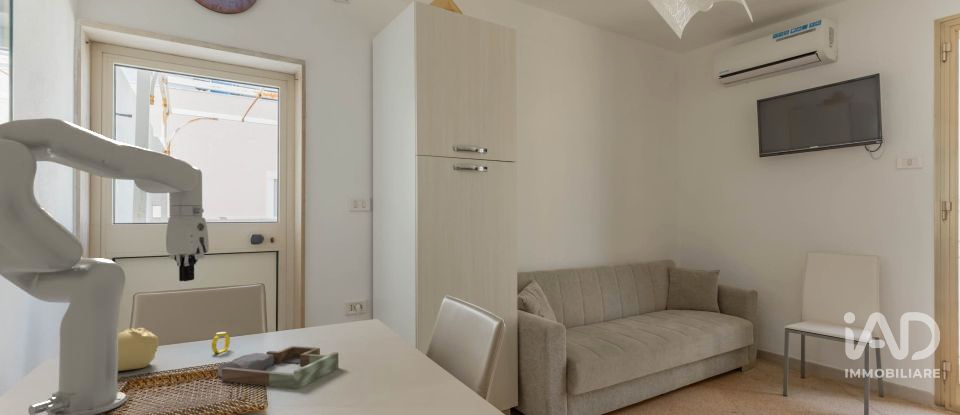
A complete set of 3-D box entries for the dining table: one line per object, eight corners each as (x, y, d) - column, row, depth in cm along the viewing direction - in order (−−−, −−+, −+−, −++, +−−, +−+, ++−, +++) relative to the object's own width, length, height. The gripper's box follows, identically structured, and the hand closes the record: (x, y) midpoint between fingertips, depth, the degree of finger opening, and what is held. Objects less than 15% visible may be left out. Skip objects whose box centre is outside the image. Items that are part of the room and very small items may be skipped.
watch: (223, 350, 142) (224, 330, 143) (231, 350, 142) (232, 331, 142) (208, 354, 136) (210, 334, 137) (217, 354, 136) (218, 334, 136)
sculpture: (165, 366, 126) (165, 326, 126) (111, 378, 116) (112, 335, 116) (147, 359, 132) (148, 322, 133) (95, 370, 122) (96, 330, 123)
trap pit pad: (302, 364, 126) (302, 363, 126) (282, 362, 127) (282, 361, 127) (312, 359, 130) (312, 358, 130) (293, 357, 132) (293, 356, 132)
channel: (298, 388, 107) (298, 371, 107) (221, 380, 113) (222, 364, 113) (350, 361, 128) (350, 346, 128) (284, 355, 134) (284, 342, 134)
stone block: (213, 385, 116) (247, 378, 114) (211, 365, 116) (245, 359, 115) (246, 371, 127) (277, 366, 126) (243, 354, 128) (275, 348, 126)
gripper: (220, 212, 125) (220, 279, 125) (176, 213, 129) (177, 278, 129) (196, 212, 118) (197, 283, 118) (151, 213, 122) (152, 282, 121)
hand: (186, 280), depth 123 cm, fingers closed
